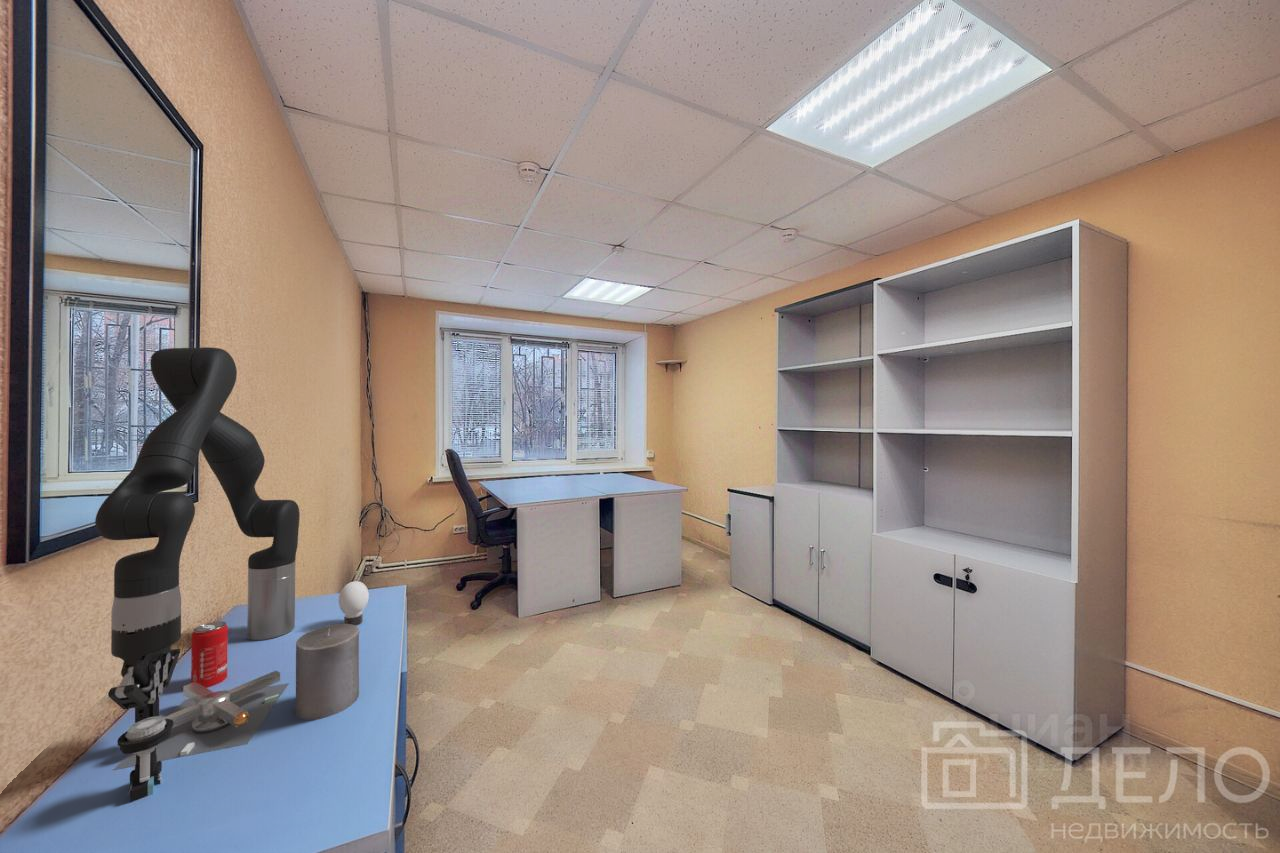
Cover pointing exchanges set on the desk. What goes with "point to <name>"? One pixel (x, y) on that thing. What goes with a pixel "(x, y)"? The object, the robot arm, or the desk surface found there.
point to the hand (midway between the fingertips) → (147, 724)
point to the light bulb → (353, 602)
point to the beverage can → (209, 653)
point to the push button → (145, 753)
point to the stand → (230, 736)
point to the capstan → (218, 705)
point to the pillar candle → (327, 671)
